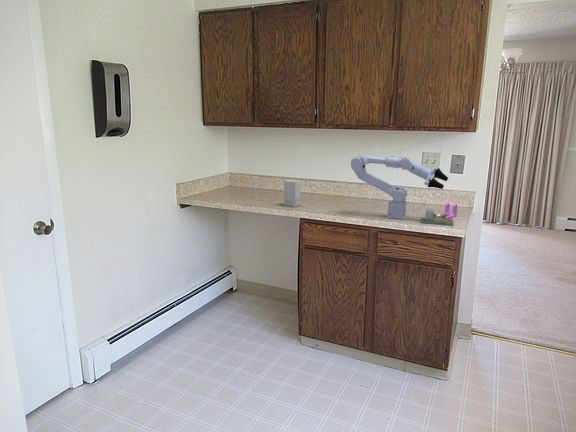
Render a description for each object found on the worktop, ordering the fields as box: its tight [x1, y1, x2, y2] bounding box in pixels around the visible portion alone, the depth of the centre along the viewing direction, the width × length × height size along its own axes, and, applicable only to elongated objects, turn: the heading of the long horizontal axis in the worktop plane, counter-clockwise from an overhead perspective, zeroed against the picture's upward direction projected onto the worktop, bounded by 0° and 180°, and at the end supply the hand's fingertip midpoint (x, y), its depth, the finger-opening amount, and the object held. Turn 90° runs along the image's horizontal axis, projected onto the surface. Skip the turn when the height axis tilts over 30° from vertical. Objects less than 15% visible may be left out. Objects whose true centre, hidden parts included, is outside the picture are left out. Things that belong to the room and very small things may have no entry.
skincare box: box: [283, 179, 302, 208], centre depth 263 cm, size 8×7×16 cm
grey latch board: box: [419, 217, 454, 227], centre depth 227 cm, size 16×12×4 cm
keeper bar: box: [434, 217, 454, 223], centre depth 222 cm, size 9×1×2 cm, turn 69°
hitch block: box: [420, 209, 435, 221], centre depth 229 cm, size 12×6×5 cm, turn 69°
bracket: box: [442, 202, 458, 219], centre depth 239 cm, size 13×6×7 cm, turn 145°
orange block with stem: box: [433, 212, 447, 218], centre depth 228 cm, size 7×5×3 cm
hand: (445, 183), depth 224 cm, fingers open, 7 cm apart
